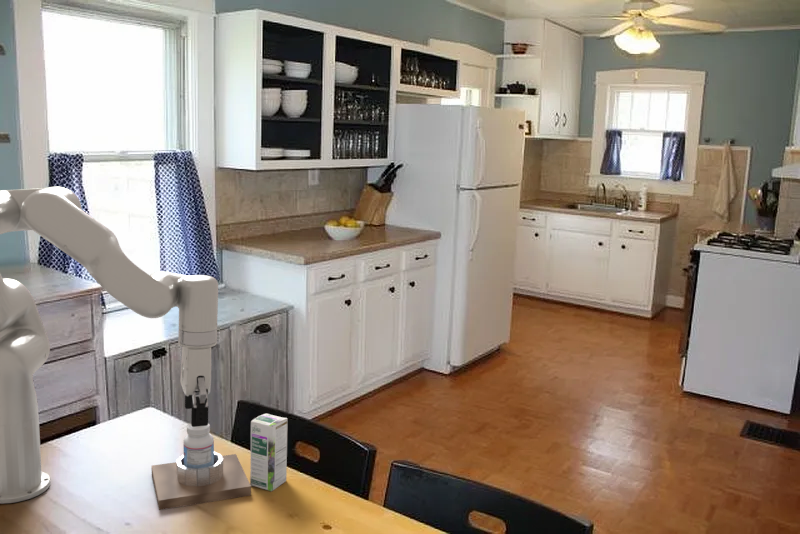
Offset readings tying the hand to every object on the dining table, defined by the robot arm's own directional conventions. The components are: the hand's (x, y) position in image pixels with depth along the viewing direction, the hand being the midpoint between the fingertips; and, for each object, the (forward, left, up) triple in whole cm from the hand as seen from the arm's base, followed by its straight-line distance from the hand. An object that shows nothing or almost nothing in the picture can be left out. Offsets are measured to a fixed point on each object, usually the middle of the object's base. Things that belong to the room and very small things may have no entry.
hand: (196, 416), depth 150 cm
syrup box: (+14, -4, -15) cm, 21 cm away
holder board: (+1, 0, -15) cm, 15 cm away
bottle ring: (+1, 0, -13) cm, 13 cm away
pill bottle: (0, 0, -13) cm, 13 cm away
